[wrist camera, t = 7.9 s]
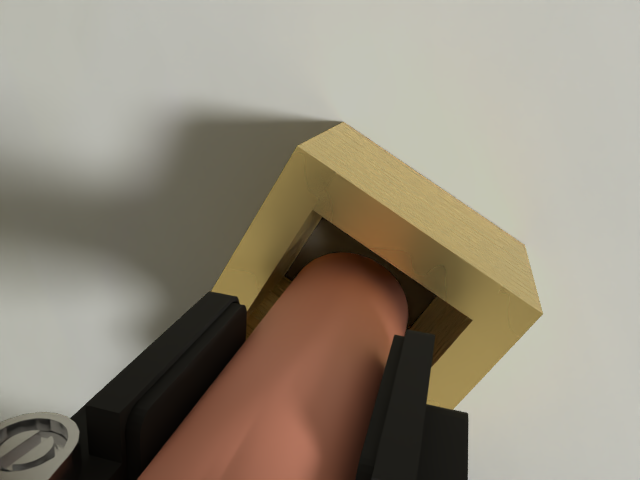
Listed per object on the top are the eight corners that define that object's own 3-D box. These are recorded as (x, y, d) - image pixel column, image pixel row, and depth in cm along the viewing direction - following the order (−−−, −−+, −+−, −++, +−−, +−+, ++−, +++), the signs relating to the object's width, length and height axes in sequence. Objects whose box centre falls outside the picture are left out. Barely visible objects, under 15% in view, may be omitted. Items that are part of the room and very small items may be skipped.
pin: (416, 263, 13) (277, 792, 4) (399, 374, 14) (258, 1003, 5) (292, 243, 13) (-89, 650, 4) (285, 350, 14) (-34, 863, 5)
